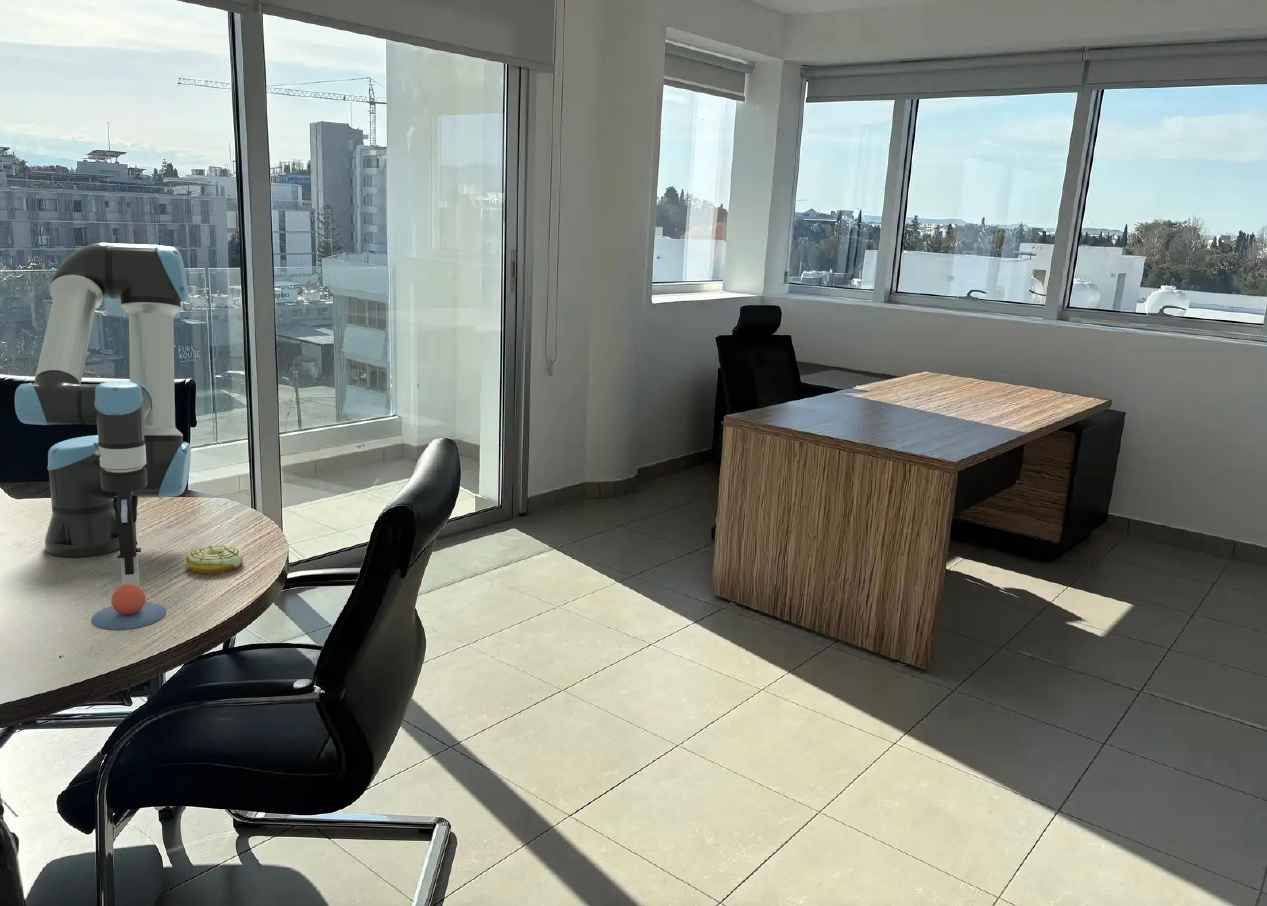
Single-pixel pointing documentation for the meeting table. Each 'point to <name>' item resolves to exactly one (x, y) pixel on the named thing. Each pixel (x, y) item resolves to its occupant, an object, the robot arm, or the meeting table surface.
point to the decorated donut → (214, 559)
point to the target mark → (128, 617)
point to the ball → (128, 599)
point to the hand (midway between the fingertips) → (131, 587)
